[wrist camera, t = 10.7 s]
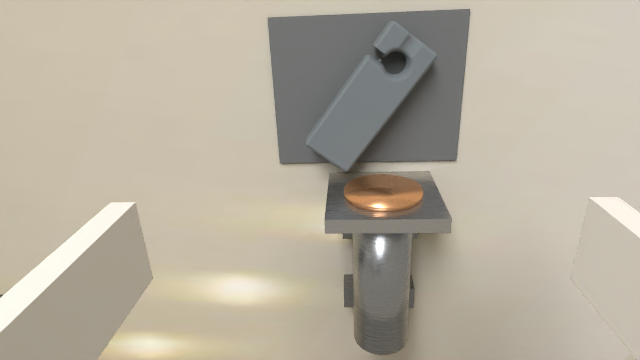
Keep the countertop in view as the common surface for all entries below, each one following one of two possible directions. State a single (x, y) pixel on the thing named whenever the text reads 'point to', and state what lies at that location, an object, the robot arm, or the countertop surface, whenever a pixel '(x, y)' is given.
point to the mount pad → (341, 60)
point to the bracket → (369, 98)
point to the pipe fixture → (382, 247)
